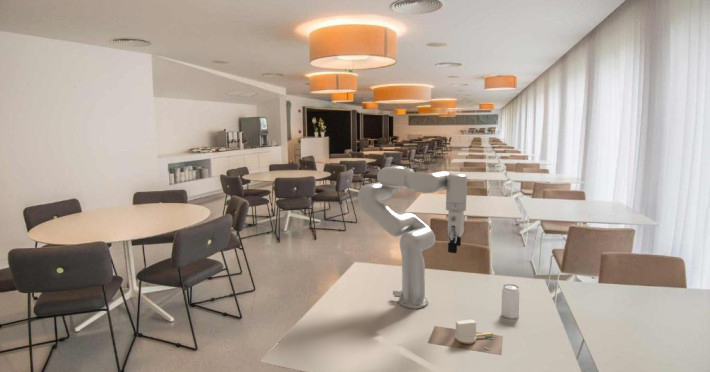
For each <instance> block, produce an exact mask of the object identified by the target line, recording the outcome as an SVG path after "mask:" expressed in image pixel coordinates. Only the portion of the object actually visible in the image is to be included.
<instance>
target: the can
mask: <svg viewBox="0 0 710 372" xmlns="http://www.w3.org/2000/svg"><path fill="white" fill-rule="evenodd" d="M502 287H503V288H502V289H501V316H502V317H504V318H506V319H509V320H511V319H512V320H515V319H517V318H518V317H519V316H520V289H519V286H518V285H516V284H511V283H506V284H504V285H503V286H502Z"/></svg>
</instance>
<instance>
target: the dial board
mask: <svg viewBox="0 0 710 372" xmlns="http://www.w3.org/2000/svg"><path fill="white" fill-rule="evenodd" d="M482 333H483V332H478V331H476V334H482ZM455 334H456V328H451V327H444V326H439V325H434V326H433V329H432V331H431V334H430V337H429V338H428V341H427V344H431V345H438V346H445V347H449V348H456V349H463V350H469V351H475V352H480V353H481V352H482V353H487V354H493V355H499V356H502V352H503V341H504V335H498V334H493V335H490V336H481V337H476V341H475V342H474V343H471V344H465V343H461V342H459V341H457V340H456V338H455Z"/></svg>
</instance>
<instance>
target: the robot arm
mask: <svg viewBox="0 0 710 372" xmlns="http://www.w3.org/2000/svg"><path fill="white" fill-rule="evenodd" d="M376 178H377V179H376V180H377V182H373V183H368V184H364V185H363V186H361V187H360V189H359V190H358V192H357V200H358V201H357V202H358V205H359V206H360V208H361V210H362V211H363V212H364V213H365V214H366V215H367V216H369V217H370V218H371V219H373V220H374V221H375V222H376V223H377V224H378V225H379V226H380V227H382V229H384V231H386V232H387V233H388V234H389V235H390V236H392V237H395V238H398V237H400V239H399V249H400V254H401V285H402V286H401V290H399V291H398V290H392V295H393V296H394V298H398V304H399V305H400V306H401V307H404V308H407V309H416V310H417V309H422V308H425V307H427V306H428V305H429V299H428V298H427V297H426V295H425V294H426V292H425V291H426V289H425V286H426V285H425V283H426V281H425V280H426V279H425V276H426V273H425V272H426V271H425V270H426V269H425V258H424V257H423V251H425V250H428V249H430V248H431V247H433V246H434V244H435V243H436V234H435V233H434V231H433V230H432V229H431V228H430V226H429V225H427V224H426V223H425V222H424V221H422V220H421V219H420V218H419V217H418V216H416V215H415V214H413V213H411V212H408V211H403V212H400V213H397V212H395V211H393V210H392V209H391V208H390V207H389V206H388V205H386V204H384V203H382V202H380V201H386V200H389V198H391V197H392V196H393V195H394V194H395V193H397V191H398V190H399V189H405V190H410V191H412V192H416V193H425V194H433V193H437V192H442V191H446V192H445V210H446V211H448V214H447V217H448V218H447V236H448V243H447V253H450V254H457V252H458V246H459V247H461V244H462V243H461V241H462V235H463V234H464V231H465V225H464V222H465V212H466V211H467V193H468V192H467V187H468V186H467V185H468V176H467V175H466V174H464V173H456V172H455V173H453V172H449V171H444V170H442V171H436V172H430V173H429V172H428V173H422V172H415V171H414V169H412V168H408V167H403V166H401V165H391V166H385V167H383V168H381V169H380V170H379V171H378V172H377V177H376Z"/></svg>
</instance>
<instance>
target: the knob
mask: <svg viewBox="0 0 710 372" xmlns="http://www.w3.org/2000/svg"><path fill="white" fill-rule="evenodd" d="M455 329H456V334H455V338H456V340H457V341H459V342H461V343H465V344H471V343H474V342H475V341H476V337H481V336H490V335H494V332H481V333H482V334H476V332H477V321H475V320H474V319H472V318H471V319H463V320H456V321H455Z"/></svg>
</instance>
